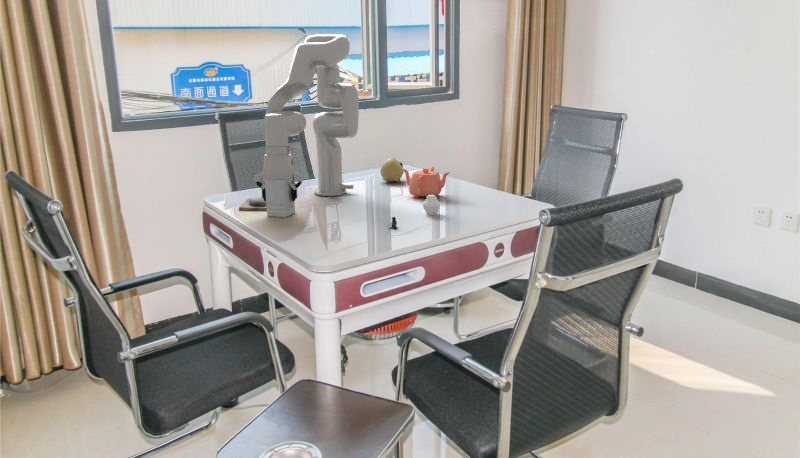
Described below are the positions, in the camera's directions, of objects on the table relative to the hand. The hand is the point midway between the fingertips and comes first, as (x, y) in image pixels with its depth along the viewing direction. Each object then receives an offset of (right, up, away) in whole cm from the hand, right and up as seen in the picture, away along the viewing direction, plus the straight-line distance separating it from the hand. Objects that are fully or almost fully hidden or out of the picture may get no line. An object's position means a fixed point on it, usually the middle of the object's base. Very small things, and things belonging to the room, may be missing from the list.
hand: (279, 200), depth 214 cm
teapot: (+52, +3, +29) cm, 59 cm away
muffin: (+52, -5, +2) cm, 52 cm away
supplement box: (0, -5, +2) cm, 5 cm away
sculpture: (+39, -10, -15) cm, 43 cm away
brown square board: (-9, -1, +13) cm, 16 cm away
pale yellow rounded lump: (+38, +10, +54) cm, 67 cm away
